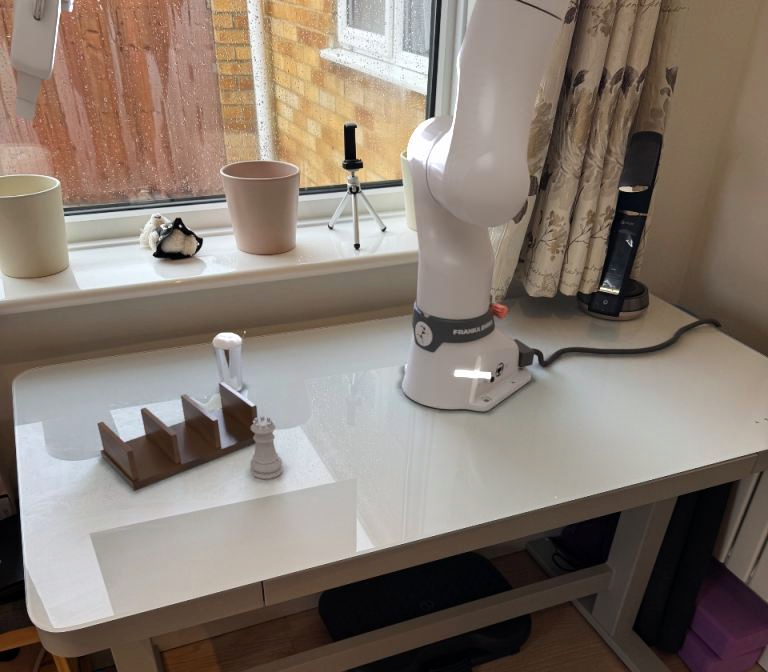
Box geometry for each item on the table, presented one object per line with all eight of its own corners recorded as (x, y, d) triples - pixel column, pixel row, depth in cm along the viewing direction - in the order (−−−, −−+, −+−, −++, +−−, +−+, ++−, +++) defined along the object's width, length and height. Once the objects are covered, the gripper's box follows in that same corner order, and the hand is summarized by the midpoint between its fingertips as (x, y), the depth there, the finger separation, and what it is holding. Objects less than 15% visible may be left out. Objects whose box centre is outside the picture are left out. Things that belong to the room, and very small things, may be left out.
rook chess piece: (281, 481, 100) (277, 430, 95) (248, 480, 100) (242, 429, 95) (285, 462, 104) (281, 412, 99) (253, 462, 104) (248, 411, 99)
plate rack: (227, 412, 114) (223, 379, 111) (263, 440, 108) (260, 406, 105) (101, 457, 104) (93, 422, 100) (134, 490, 98) (126, 454, 94)
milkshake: (245, 397, 118) (239, 338, 112) (213, 393, 119) (206, 334, 113) (255, 383, 122) (250, 326, 116) (224, 380, 123) (217, 322, 117)
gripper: (81, -21, 68) (58, 139, 74) (73, -29, 83) (55, 104, 89) (3, -53, 65) (-13, 116, 71) (10, -56, 80) (-5, 84, 86)
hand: (25, 109), depth 80 cm, fingers open, 8 cm apart
